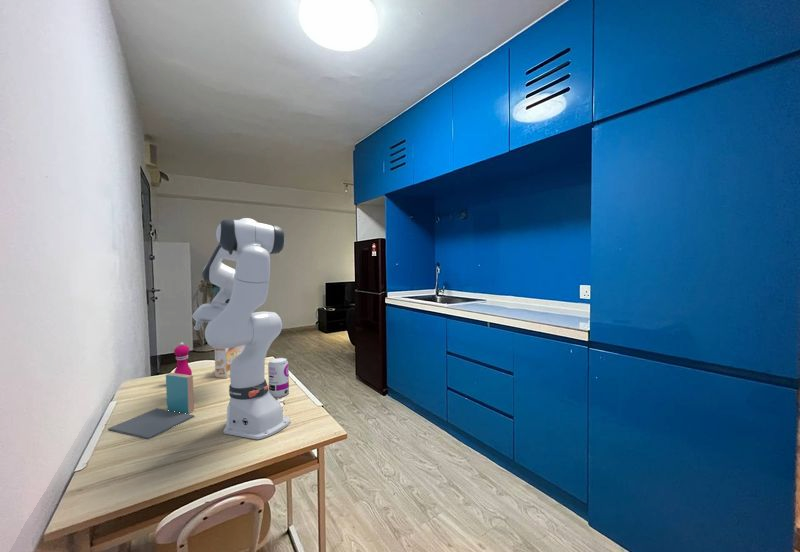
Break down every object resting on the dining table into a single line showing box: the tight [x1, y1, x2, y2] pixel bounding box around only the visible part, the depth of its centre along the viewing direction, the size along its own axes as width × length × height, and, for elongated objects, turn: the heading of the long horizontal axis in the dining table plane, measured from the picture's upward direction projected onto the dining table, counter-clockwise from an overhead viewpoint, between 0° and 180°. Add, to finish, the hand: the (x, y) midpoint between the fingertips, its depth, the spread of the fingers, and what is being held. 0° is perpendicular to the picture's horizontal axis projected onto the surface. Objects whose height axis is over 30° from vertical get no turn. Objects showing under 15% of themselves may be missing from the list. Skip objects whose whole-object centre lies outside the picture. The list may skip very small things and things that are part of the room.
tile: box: [165, 372, 195, 414], centre depth 125 cm, size 2×11×14 cm, turn 72°
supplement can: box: [267, 357, 290, 398], centre depth 139 cm, size 8×8×15 cm
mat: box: [108, 407, 195, 440], centre depth 115 cm, size 16×20×1 cm
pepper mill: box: [173, 341, 193, 376], centre depth 153 cm, size 7×7×20 cm
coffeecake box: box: [214, 345, 245, 379], centre depth 168 cm, size 15×7×20 cm, turn 168°
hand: (204, 330), depth 135 cm, fingers open, 8 cm apart
